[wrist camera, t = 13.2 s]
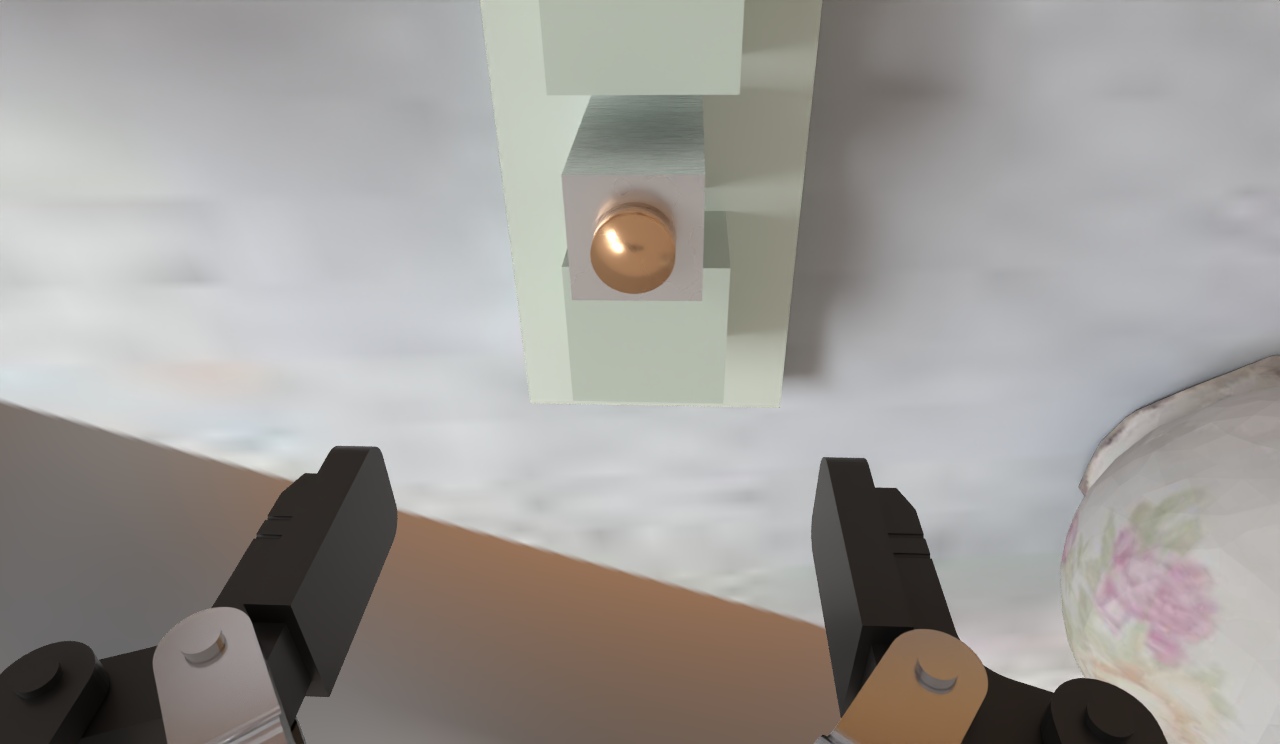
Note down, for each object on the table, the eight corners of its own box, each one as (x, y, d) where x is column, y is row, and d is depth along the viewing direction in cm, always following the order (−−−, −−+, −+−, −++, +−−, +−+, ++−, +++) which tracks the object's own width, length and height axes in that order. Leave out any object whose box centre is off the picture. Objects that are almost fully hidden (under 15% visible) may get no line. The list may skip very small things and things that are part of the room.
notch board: (538, 373, 40) (510, 473, 34) (479, -141, 27) (417, -130, 21) (775, 377, 39) (790, 479, 33) (826, -149, 27) (866, -140, 21)
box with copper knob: (594, 86, 29) (556, 189, 21) (702, 85, 29) (705, 188, 21) (600, 188, 31) (567, 317, 23) (700, 188, 31) (702, 318, 23)
